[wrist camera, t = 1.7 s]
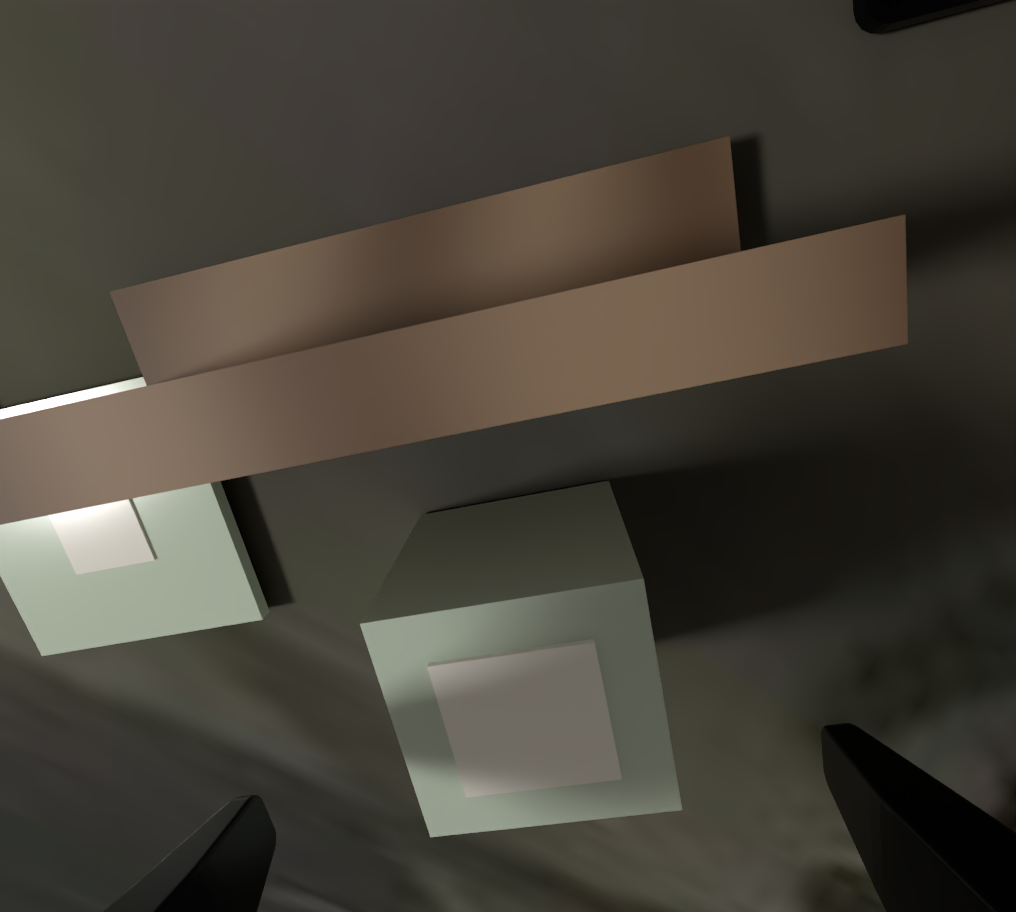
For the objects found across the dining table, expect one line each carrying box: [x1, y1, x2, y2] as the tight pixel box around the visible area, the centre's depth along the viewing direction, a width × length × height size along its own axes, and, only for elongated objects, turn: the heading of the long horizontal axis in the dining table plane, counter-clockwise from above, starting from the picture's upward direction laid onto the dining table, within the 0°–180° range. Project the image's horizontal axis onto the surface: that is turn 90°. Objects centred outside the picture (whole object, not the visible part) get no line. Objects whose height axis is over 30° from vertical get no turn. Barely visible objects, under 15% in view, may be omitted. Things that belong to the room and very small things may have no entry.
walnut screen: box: [0, 136, 908, 525], centre depth 10 cm, size 14×4×6 cm, turn 102°
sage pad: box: [0, 377, 270, 656], centre depth 15 cm, size 7×7×1 cm
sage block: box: [360, 481, 682, 837], centre depth 12 cm, size 5×5×5 cm
